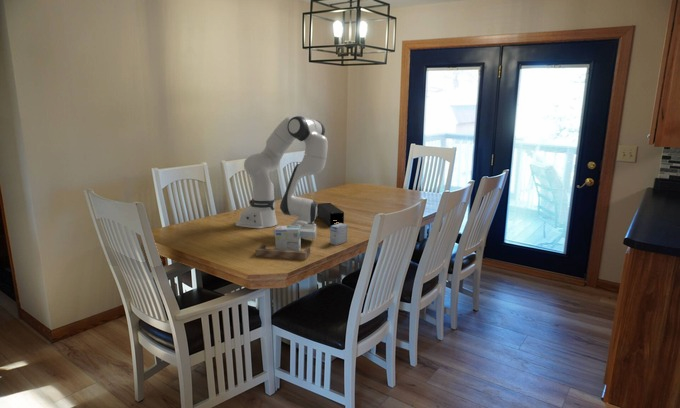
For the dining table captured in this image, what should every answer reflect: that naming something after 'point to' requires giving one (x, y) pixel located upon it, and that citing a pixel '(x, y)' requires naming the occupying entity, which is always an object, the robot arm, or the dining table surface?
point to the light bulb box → (288, 238)
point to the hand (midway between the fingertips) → (290, 237)
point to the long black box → (330, 213)
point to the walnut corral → (282, 253)
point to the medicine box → (338, 233)
